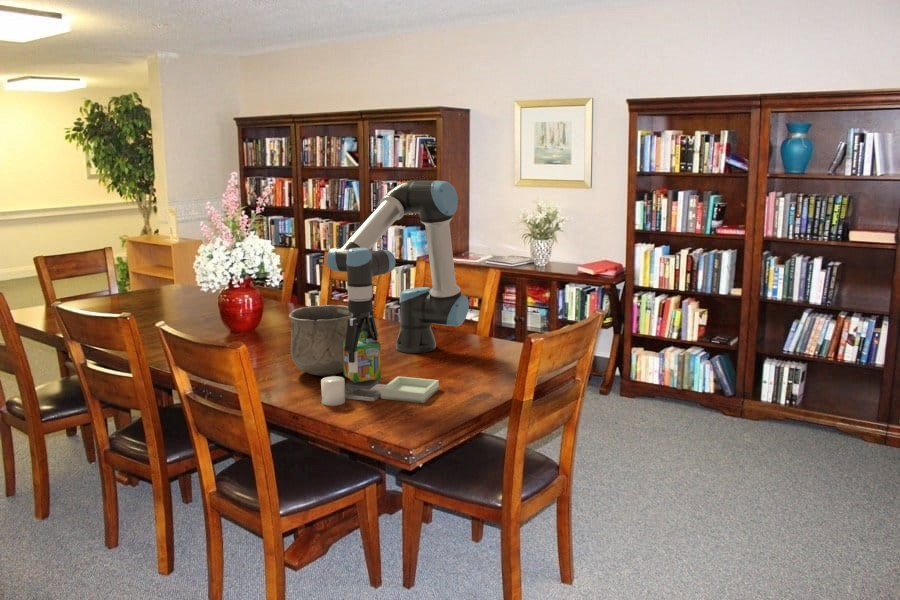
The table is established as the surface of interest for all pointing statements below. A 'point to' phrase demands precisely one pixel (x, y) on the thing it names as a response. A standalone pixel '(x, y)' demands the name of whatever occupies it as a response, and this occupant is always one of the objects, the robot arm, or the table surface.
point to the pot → (319, 338)
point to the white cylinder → (333, 390)
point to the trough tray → (410, 389)
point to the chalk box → (365, 360)
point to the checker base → (364, 393)
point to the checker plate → (363, 384)
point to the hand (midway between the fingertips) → (362, 366)
